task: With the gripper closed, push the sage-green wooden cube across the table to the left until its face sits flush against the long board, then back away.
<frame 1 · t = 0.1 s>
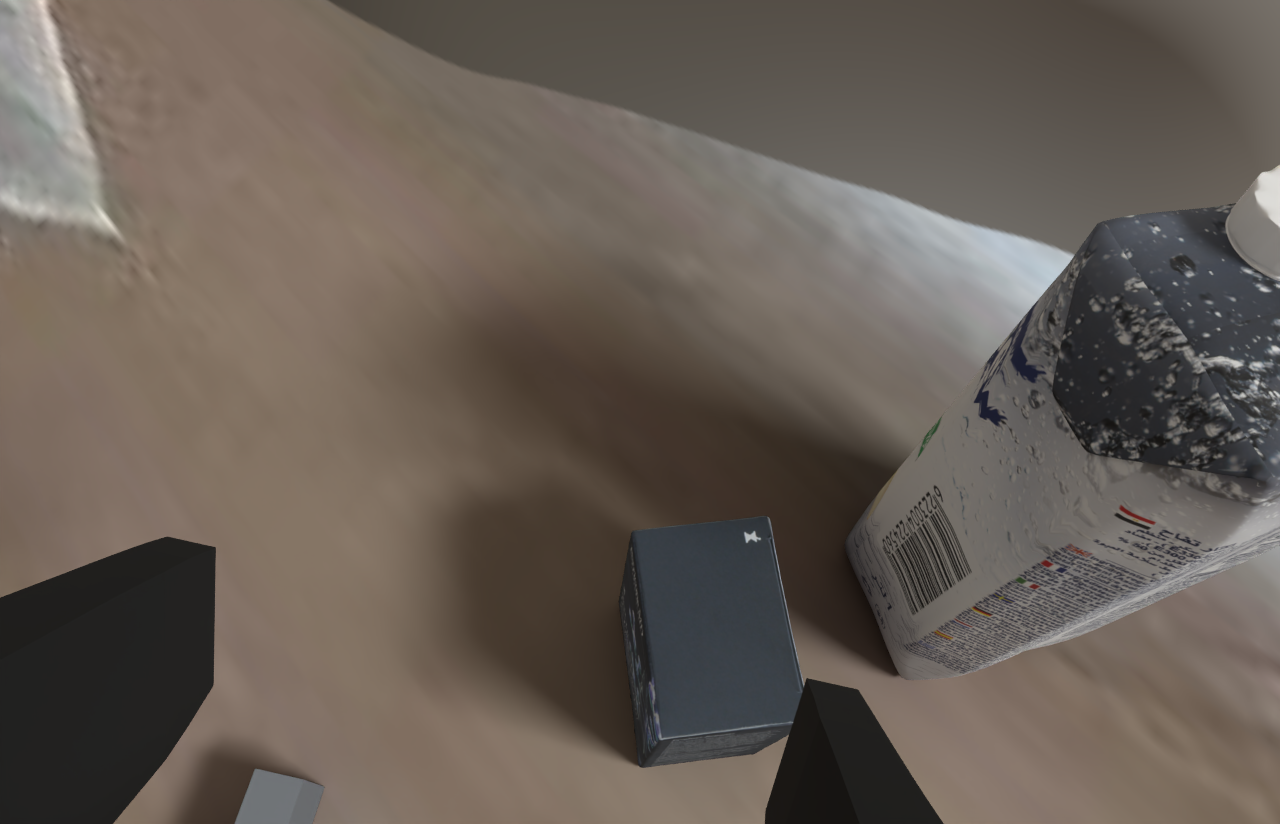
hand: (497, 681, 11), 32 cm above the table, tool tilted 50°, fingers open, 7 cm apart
juice carton: (943, 588, 45), on the table
box: (684, 675, 43), on the table
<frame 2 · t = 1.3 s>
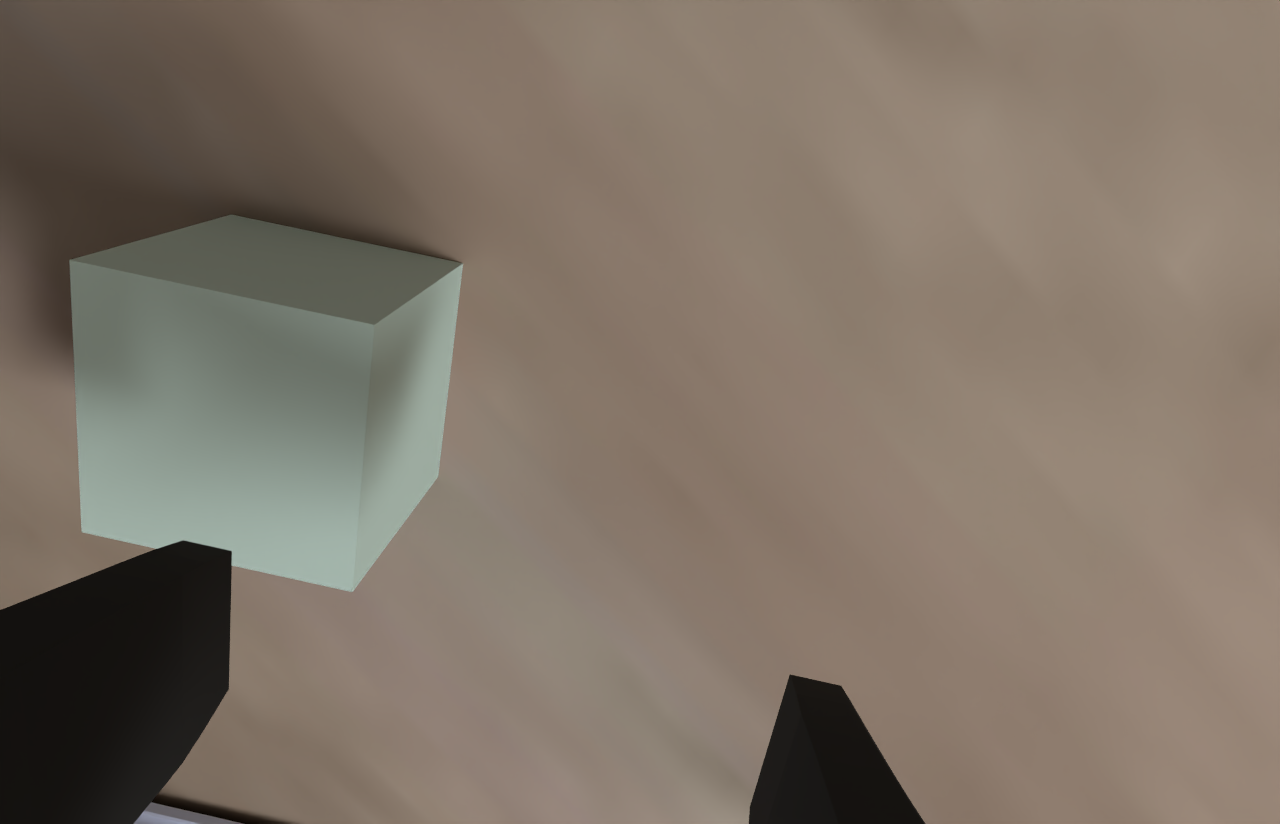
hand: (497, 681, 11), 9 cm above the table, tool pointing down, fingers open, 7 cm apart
block: (340, 350, 20), on the table
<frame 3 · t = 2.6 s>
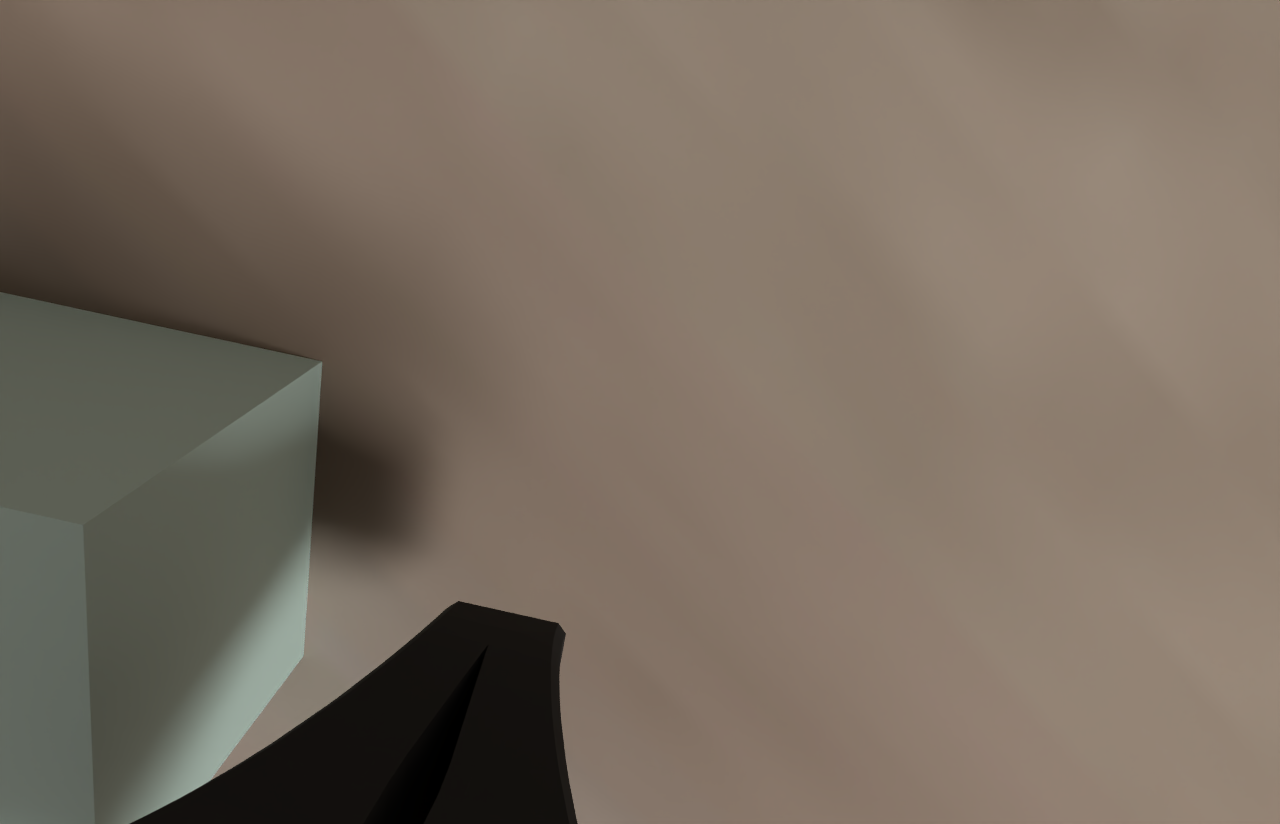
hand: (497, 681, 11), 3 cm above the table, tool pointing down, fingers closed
block: (153, 480, 14), on the table
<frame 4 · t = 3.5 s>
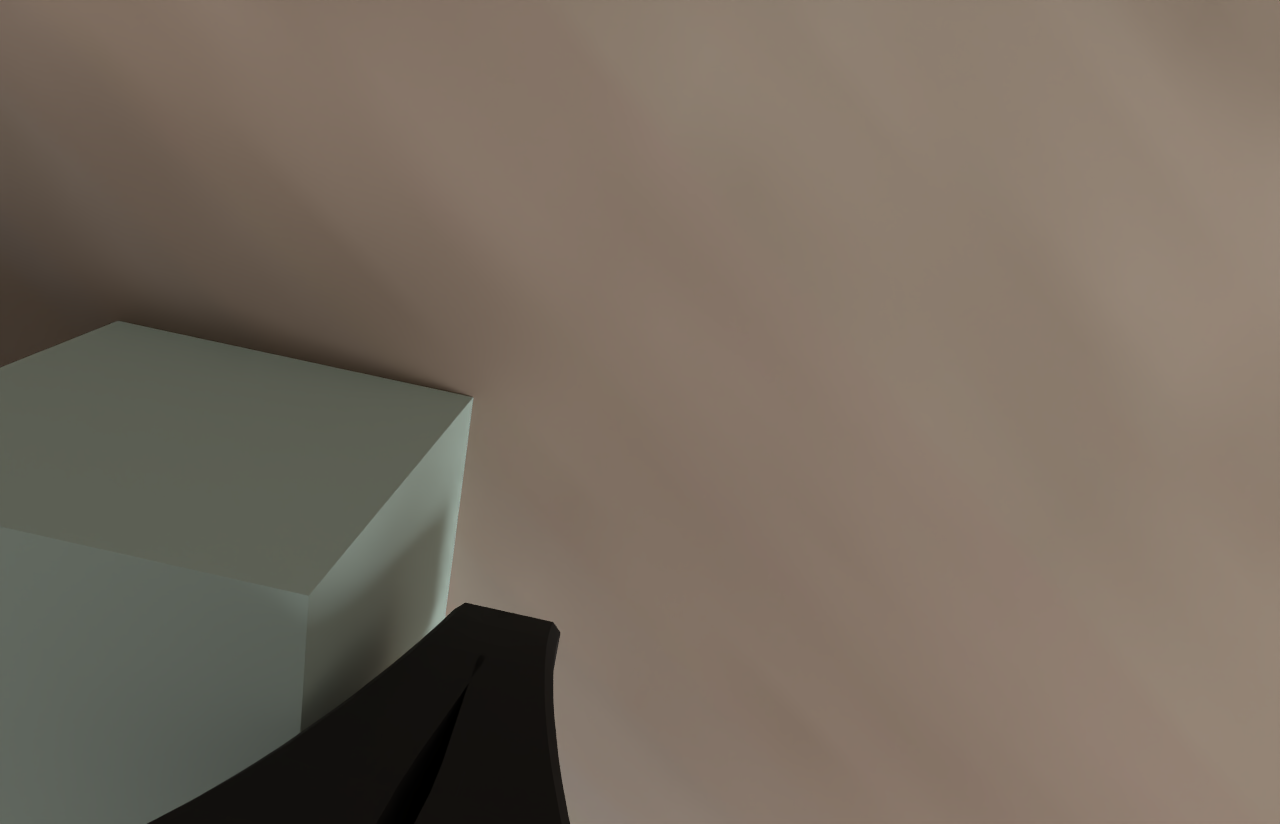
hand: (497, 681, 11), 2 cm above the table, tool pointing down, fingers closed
block: (287, 518, 13), on the table, touching gripper
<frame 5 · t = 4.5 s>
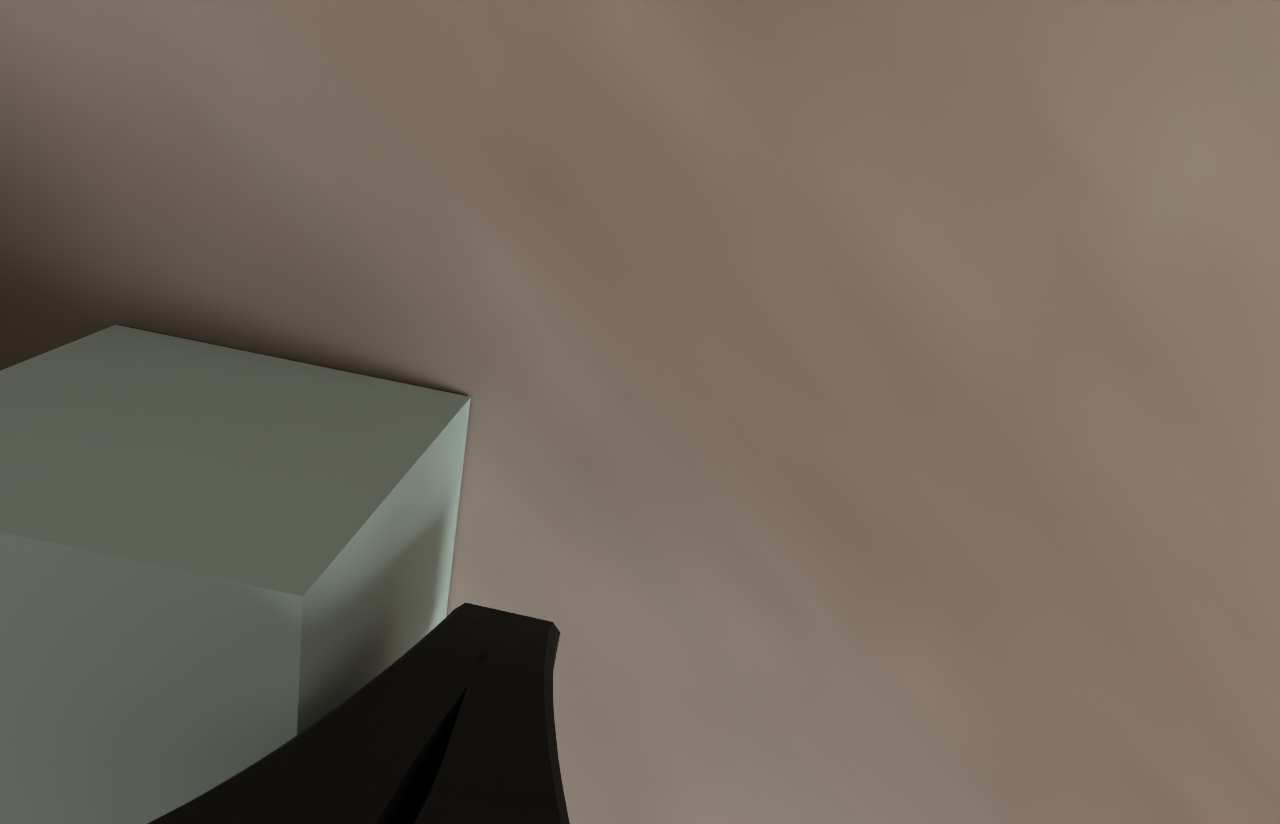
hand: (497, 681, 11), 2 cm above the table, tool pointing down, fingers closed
block: (286, 521, 13), on the table, touching gripper
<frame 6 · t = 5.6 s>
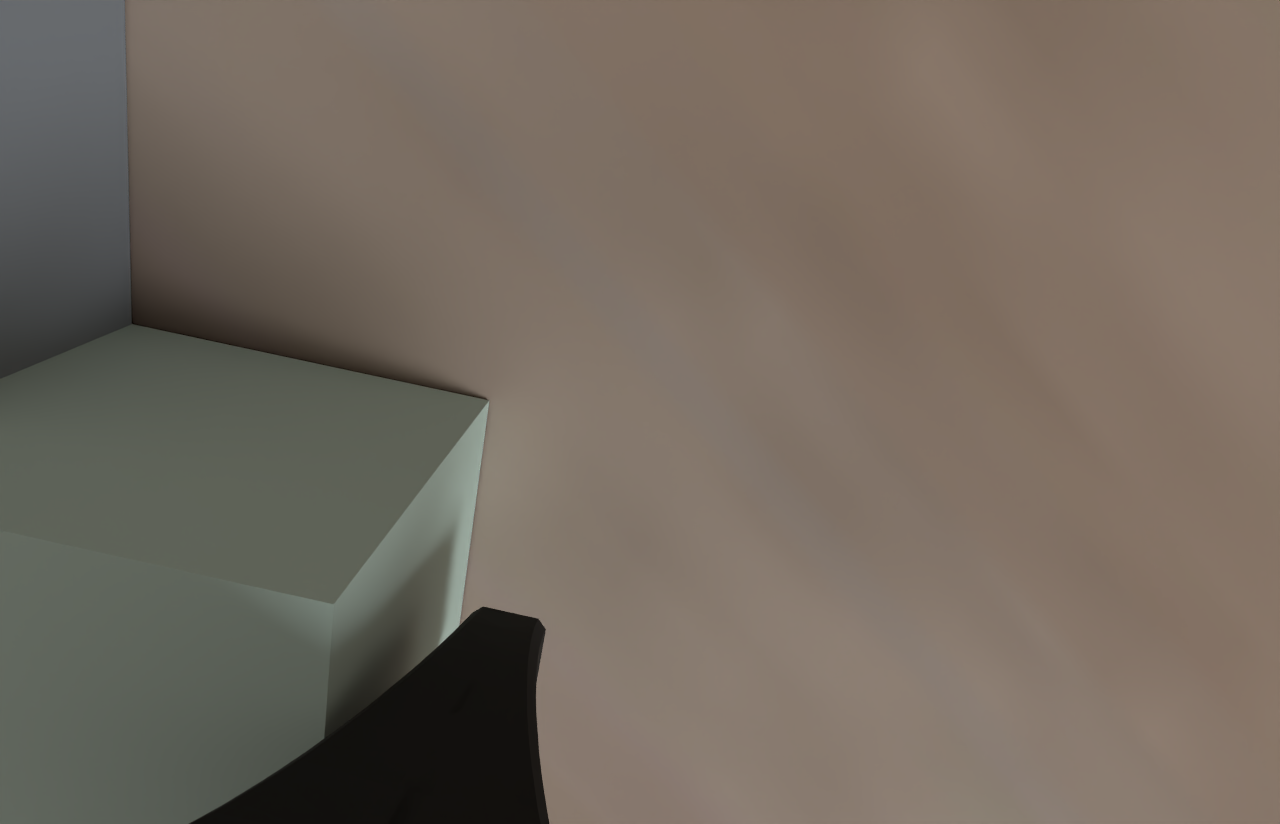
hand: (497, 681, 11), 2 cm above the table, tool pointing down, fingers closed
block: (300, 522, 13), on the table, touching board, gripper
board: (69, 472, 13), on the table
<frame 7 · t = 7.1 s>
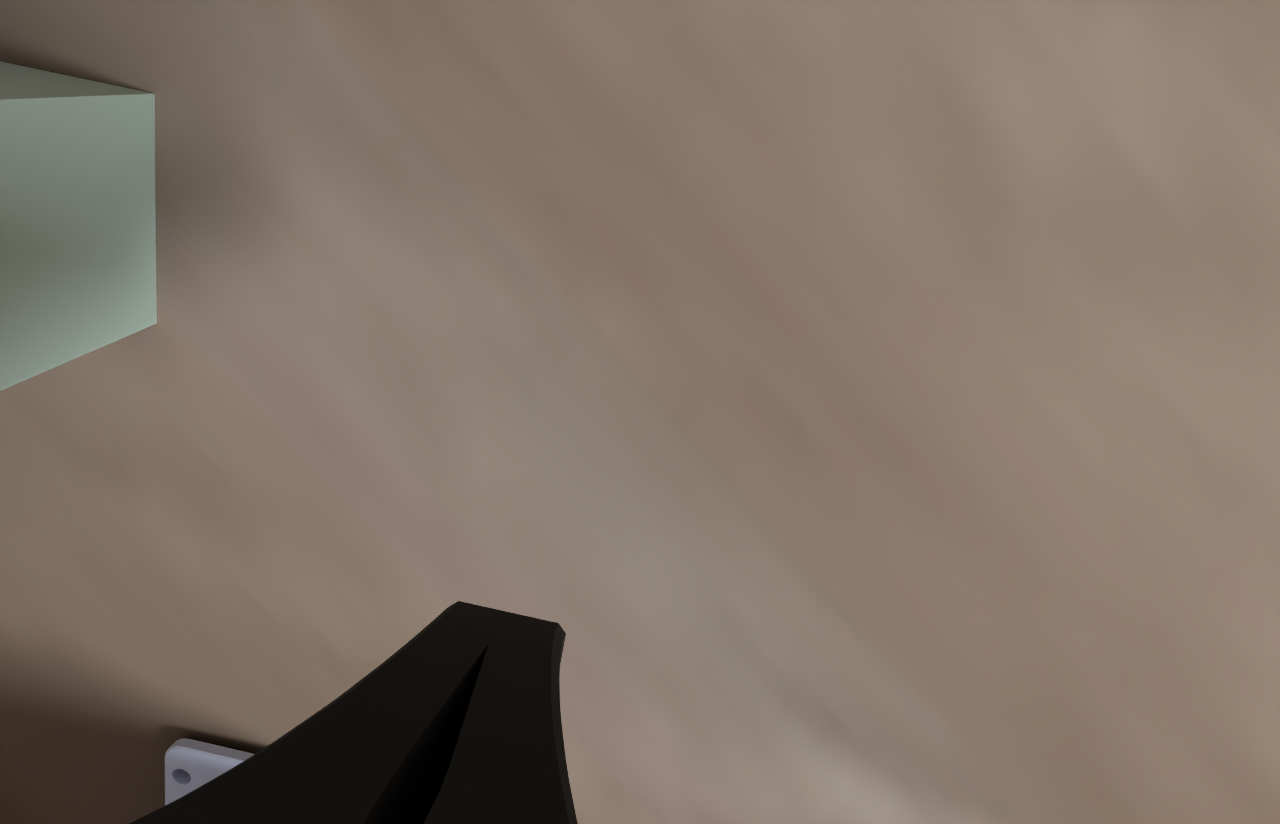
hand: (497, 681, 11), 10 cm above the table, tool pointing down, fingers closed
block: (47, 189, 20), on the table
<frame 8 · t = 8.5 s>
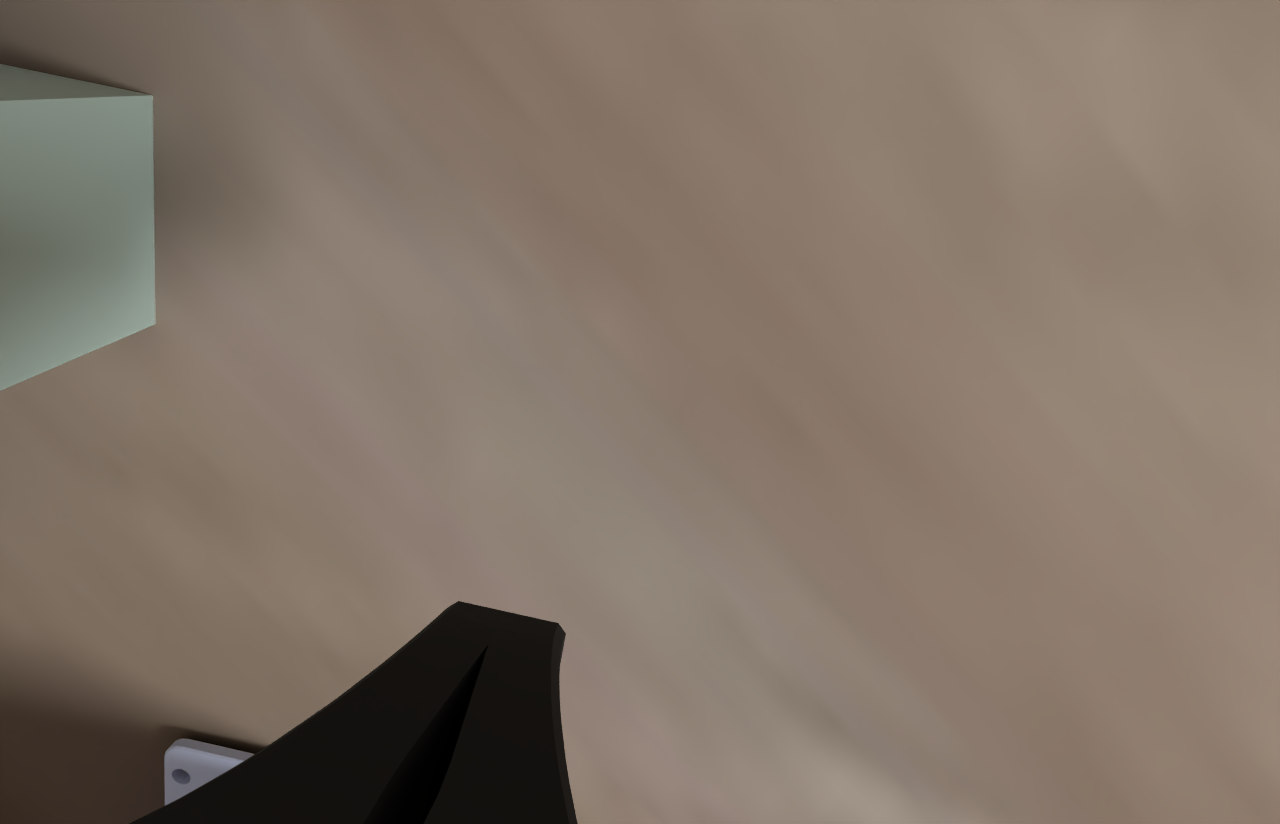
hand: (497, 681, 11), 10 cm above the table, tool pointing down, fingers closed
block: (46, 191, 20), on the table
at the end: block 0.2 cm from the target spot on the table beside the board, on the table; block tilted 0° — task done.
